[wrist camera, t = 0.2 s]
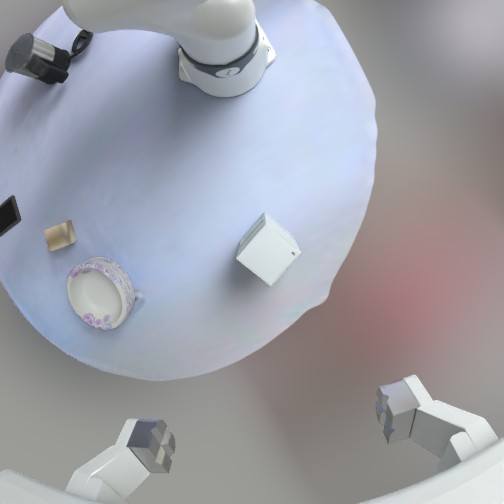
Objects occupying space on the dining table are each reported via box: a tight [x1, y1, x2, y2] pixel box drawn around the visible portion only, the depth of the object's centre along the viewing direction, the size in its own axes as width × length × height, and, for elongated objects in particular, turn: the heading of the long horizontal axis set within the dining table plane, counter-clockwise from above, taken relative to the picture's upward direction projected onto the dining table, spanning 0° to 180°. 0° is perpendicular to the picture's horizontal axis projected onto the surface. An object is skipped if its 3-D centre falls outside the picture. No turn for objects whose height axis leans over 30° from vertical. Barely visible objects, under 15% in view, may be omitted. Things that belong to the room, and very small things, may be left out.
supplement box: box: [236, 212, 301, 287], centre depth 50 cm, size 7×7×13 cm
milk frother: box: [5, 29, 93, 84], centre depth 38 cm, size 14×16×15 cm
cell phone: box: [0, 195, 21, 236], centre depth 56 cm, size 7×14×1 cm, turn 109°
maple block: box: [44, 220, 76, 251], centre depth 54 cm, size 5×5×5 cm
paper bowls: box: [67, 256, 135, 330], centre depth 56 cm, size 15×15×8 cm
